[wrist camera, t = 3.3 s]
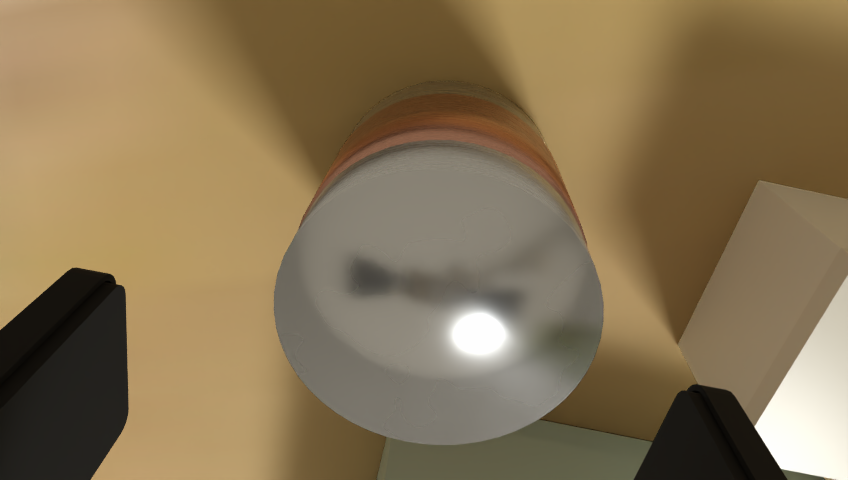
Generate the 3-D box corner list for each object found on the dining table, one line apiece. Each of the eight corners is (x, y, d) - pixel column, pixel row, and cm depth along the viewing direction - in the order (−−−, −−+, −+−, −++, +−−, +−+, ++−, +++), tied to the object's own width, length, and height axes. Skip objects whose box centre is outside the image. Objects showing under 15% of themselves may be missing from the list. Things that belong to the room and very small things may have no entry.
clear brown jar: (354, 55, 16) (288, 131, 10) (585, 106, 17) (659, 210, 10) (325, 259, 19) (259, 415, 13) (521, 299, 20) (548, 470, 13)
